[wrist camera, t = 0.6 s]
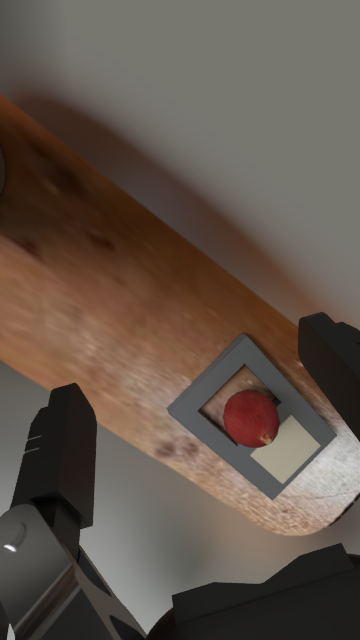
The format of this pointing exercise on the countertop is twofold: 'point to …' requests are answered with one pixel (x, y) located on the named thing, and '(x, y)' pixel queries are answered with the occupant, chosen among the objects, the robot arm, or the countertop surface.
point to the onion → (251, 419)
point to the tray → (294, 413)
